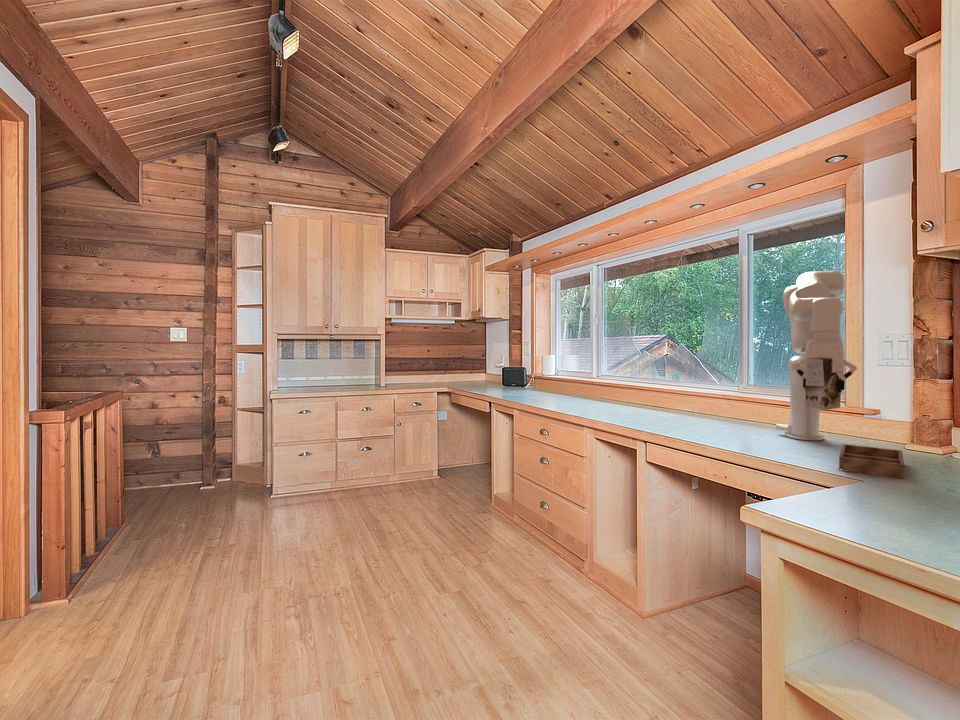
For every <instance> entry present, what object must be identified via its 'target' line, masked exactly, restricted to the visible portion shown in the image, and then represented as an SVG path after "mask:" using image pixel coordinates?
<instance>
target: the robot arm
mask: <svg viewBox="0 0 960 720" xmlns="http://www.w3.org/2000/svg"><path fill="white" fill-rule="evenodd" d="M844 288H845V278H844V275H843V274H842V273H841V271H839V270H819V271H818V270H817V271H816V270H815V271H807V272H804V273H802V274H800V275H799V276H798V277H797V279H796V280H795V285H790V286H787V287H786V288H785V290H783V294H782V295H783V296H782V299H783V300H782V301H783V306H784V309H785V311H786V312H785V313H786V315H787V316H788V318H789V321H790V335H791V336H790V339H791V347H792V350H793V351H794V352H795V353H798V354H799V355H794V356H793V357H791V358H790V359H789V361H788V363H787V364H788V367H787V368H788V372H789V373H788V374H789V381H790V384H789V385H790V386H789V387H790V389H789V391H790V393H789V395H790V396H789V397H790V398H789V399H790V400H789V423H788V424H778V423H777V424H776V426H775V427H776V429H775V430H778V431H780V430H781V431H784V436H785V437H786V438H789V439H794V440H795V439H796V440H801V441H821V440H822V441H823V440H824V439H825V438H824V435H823V434H820V413H821V412H820V411H821V410H819V409H813V408H806V407H805V389H806V366H807V358H829V359H832V373H837V375H838V376H839V377H840V380H839V386H838V392H839V393H841V394H842V391H845V381H846V379H848V378H850V376H852V375H853V374H854V373H855V372H856V371H857V369H858V366H856V365H854V364H853V363H851V362H849V361H847V360H846V359H845V351H844V349H845V348H844V343H843V339H842V335H841V316H842V314H843V309H844V307H843V302H841V299H840V296H841V294H842V293H843V290H844ZM845 366H846V367H847V368H849V370H848V371H847V372H846V373H845Z"/></svg>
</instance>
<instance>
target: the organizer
mask: <svg viewBox="0 0 960 720" xmlns="http://www.w3.org/2000/svg"><path fill="white" fill-rule="evenodd" d="M839 469H842V470H848V471H847V472H849V471H854V472H853V473H856V472H858V473H859V474H865V475H871V476H872V475H873V476H877V477H885V478H886V477H887V478H894V479H900V480H901V479H902V480H904V479H905V461H904V455H903V451H902V450H899V449H891V448H882V447H873V446H872V447H871V446H864V445H855V444H846V443H843V444H842V446H841V450H840V453H839V457H838V470H839ZM858 473H857V474H858Z"/></svg>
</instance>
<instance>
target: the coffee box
mask: <svg viewBox="0 0 960 720" xmlns="http://www.w3.org/2000/svg"><path fill="white" fill-rule="evenodd" d="M839 380H840V377H839V376H838V375H837V373H832V359H829V358H807V366H806V389H805V407H806V408H813V409H819V410H820V411H827V410H828V411H829V410H835V409H839V408H841V398H842V392H841V393H839V392H838V386H839Z"/></svg>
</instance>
